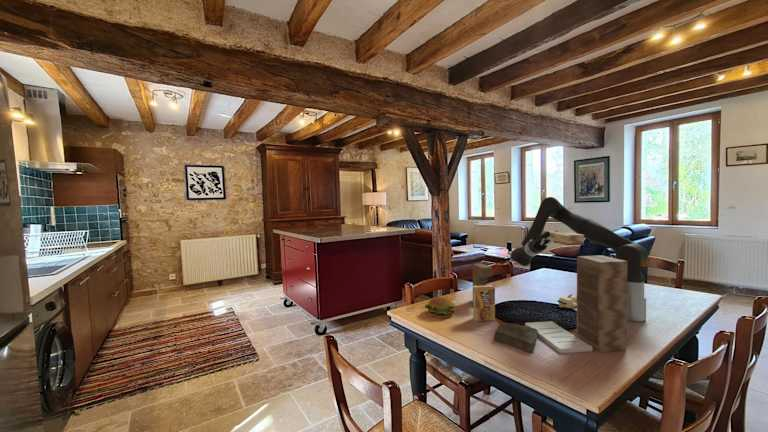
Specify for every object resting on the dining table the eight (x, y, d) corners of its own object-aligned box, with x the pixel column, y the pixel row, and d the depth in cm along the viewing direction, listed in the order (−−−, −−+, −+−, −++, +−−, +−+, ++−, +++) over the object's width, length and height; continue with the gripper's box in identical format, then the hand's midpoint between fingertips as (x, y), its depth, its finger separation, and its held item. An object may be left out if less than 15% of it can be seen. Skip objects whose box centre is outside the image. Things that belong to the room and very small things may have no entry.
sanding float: (552, 238, 149) (552, 229, 149) (583, 244, 128) (583, 234, 128) (538, 238, 149) (538, 230, 148) (567, 245, 128) (567, 235, 127)
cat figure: (589, 302, 168) (551, 303, 161) (590, 286, 168) (552, 286, 161) (607, 308, 158) (567, 310, 152) (608, 291, 158) (568, 292, 151)
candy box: (491, 317, 147) (491, 284, 146) (495, 320, 143) (495, 287, 142) (473, 318, 147) (472, 285, 146) (476, 321, 142) (475, 287, 142)
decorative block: (493, 305, 162) (492, 267, 161) (483, 306, 161) (482, 268, 160) (482, 299, 173) (481, 263, 172) (472, 300, 172) (472, 263, 171)
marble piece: (533, 354, 112) (533, 343, 112) (490, 345, 120) (490, 334, 120) (540, 336, 126) (540, 326, 126) (501, 329, 134) (501, 319, 134)
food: (440, 307, 163) (439, 291, 163) (460, 314, 151) (460, 298, 151) (419, 312, 155) (419, 296, 155) (439, 321, 144) (439, 304, 143)
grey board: (551, 324, 137) (551, 321, 137) (592, 351, 113) (592, 346, 113) (524, 326, 136) (524, 322, 136) (560, 353, 112) (560, 348, 112)
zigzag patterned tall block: (600, 335, 125) (601, 255, 123) (626, 350, 113) (627, 261, 111) (576, 337, 124) (576, 256, 122) (599, 352, 112) (600, 262, 110)
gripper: (519, 240, 159) (535, 225, 144) (546, 239, 160) (565, 224, 145) (523, 254, 156) (540, 241, 140) (551, 253, 157) (571, 240, 141)
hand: (553, 232), depth 143 cm, fingers closed on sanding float, 3 cm apart
